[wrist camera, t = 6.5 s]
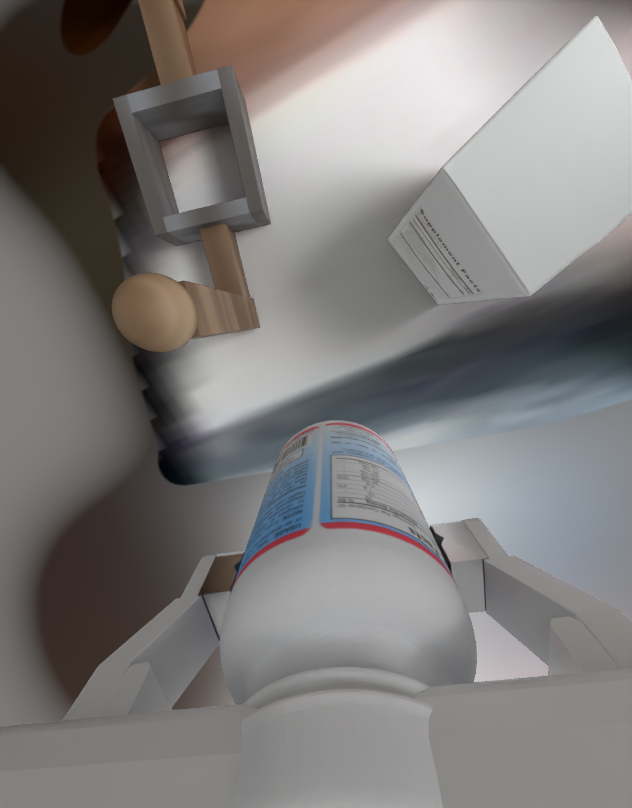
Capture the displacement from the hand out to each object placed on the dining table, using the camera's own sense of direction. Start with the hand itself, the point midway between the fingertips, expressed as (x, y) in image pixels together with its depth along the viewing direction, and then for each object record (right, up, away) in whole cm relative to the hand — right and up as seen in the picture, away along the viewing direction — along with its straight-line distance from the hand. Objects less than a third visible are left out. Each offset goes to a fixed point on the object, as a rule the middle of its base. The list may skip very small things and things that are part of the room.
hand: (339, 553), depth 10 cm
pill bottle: (0, +2, +5) cm, 5 cm away
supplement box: (+12, +21, +20) cm, 32 cm away
